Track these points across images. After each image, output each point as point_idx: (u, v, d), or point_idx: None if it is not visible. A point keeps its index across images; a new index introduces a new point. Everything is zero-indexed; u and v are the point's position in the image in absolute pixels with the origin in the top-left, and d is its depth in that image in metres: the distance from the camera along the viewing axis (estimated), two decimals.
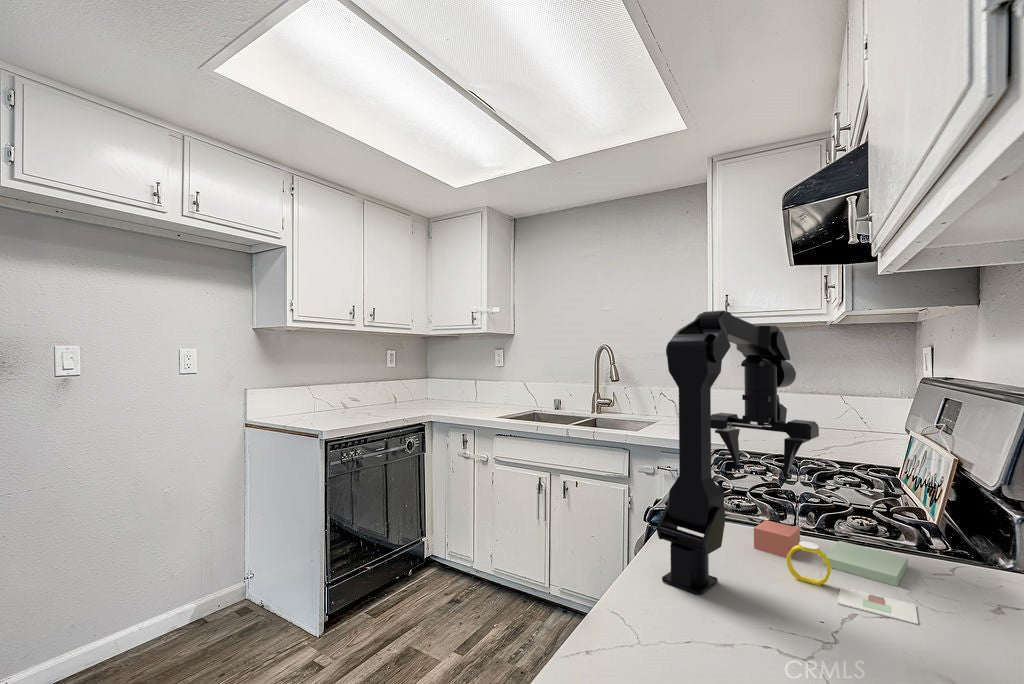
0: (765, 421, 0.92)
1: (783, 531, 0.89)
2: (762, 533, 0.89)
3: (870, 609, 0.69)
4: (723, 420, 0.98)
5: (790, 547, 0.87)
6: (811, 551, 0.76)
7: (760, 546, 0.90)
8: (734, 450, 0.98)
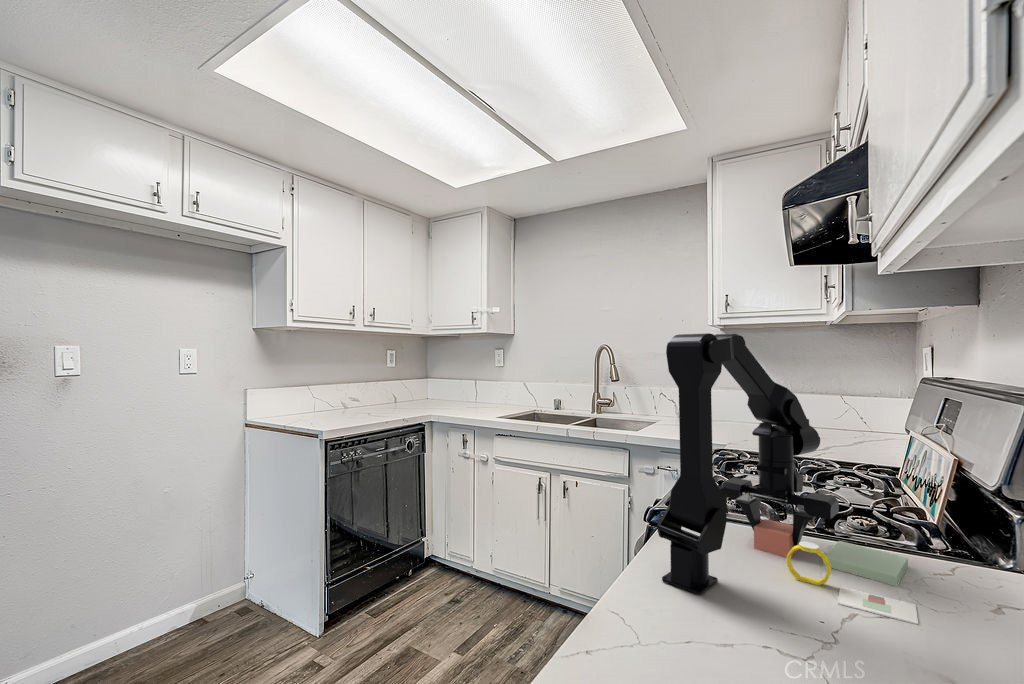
0: (781, 495, 0.87)
1: (783, 529, 0.89)
2: (762, 531, 0.89)
3: (870, 609, 0.69)
4: (736, 489, 0.93)
5: (790, 546, 0.87)
6: (811, 551, 0.76)
7: (760, 544, 0.90)
8: (756, 523, 0.92)
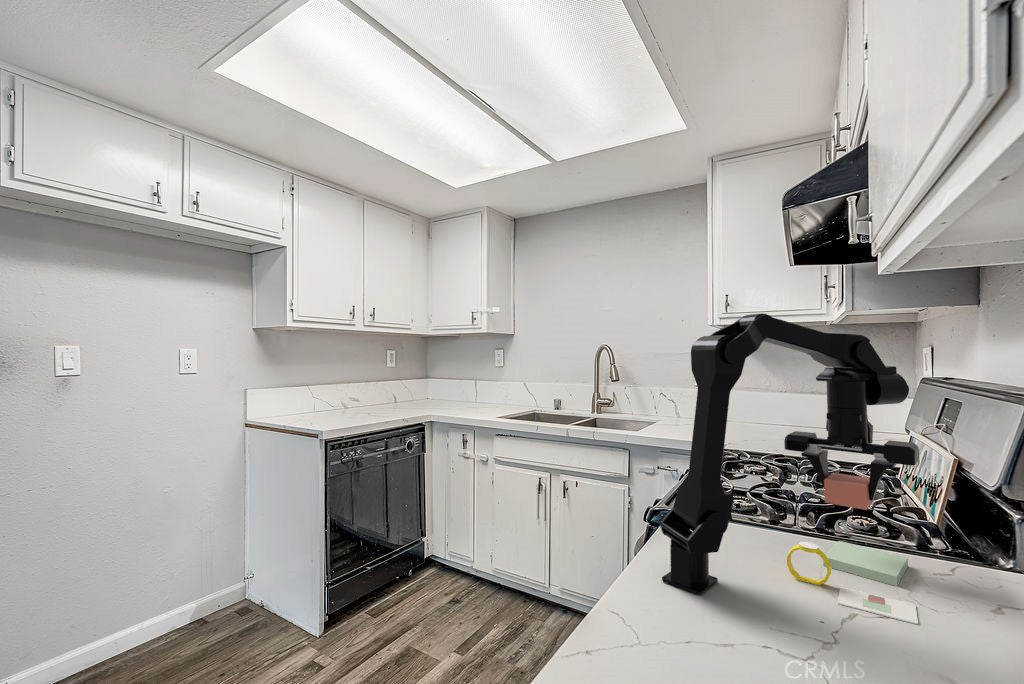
0: (856, 443, 0.81)
1: (857, 481, 0.83)
2: (834, 484, 0.84)
3: (870, 609, 0.69)
4: (803, 441, 0.87)
5: (867, 497, 0.81)
6: (811, 551, 0.76)
7: (831, 498, 0.84)
8: (825, 476, 0.86)
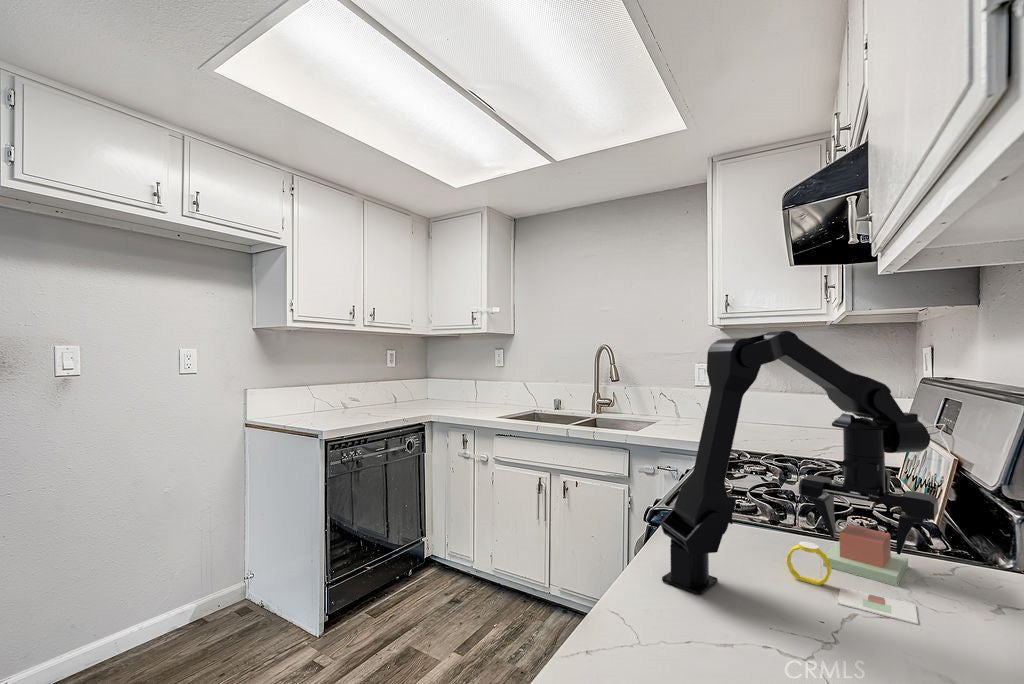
0: (873, 493, 0.80)
1: (873, 536, 0.81)
2: (850, 538, 0.82)
3: (870, 609, 0.69)
4: (818, 487, 0.85)
5: (883, 555, 0.79)
6: (811, 551, 0.76)
7: (847, 553, 0.82)
8: (831, 521, 0.86)
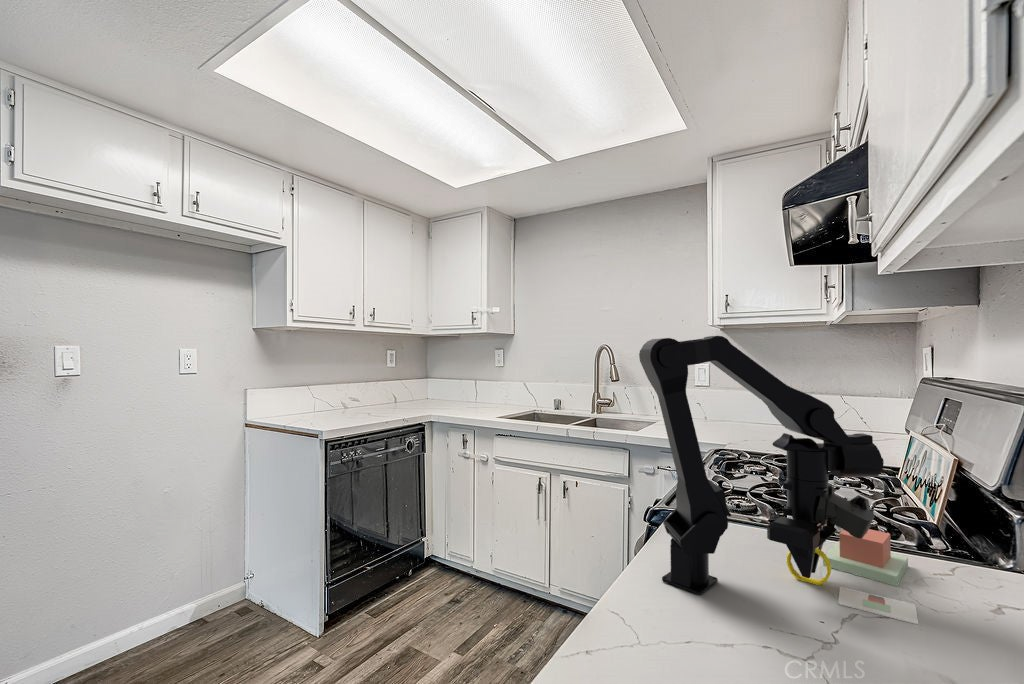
0: None
1: (873, 536, 0.81)
2: (850, 538, 0.82)
3: (870, 609, 0.69)
4: None
5: (883, 555, 0.79)
6: None
7: (847, 553, 0.82)
8: None
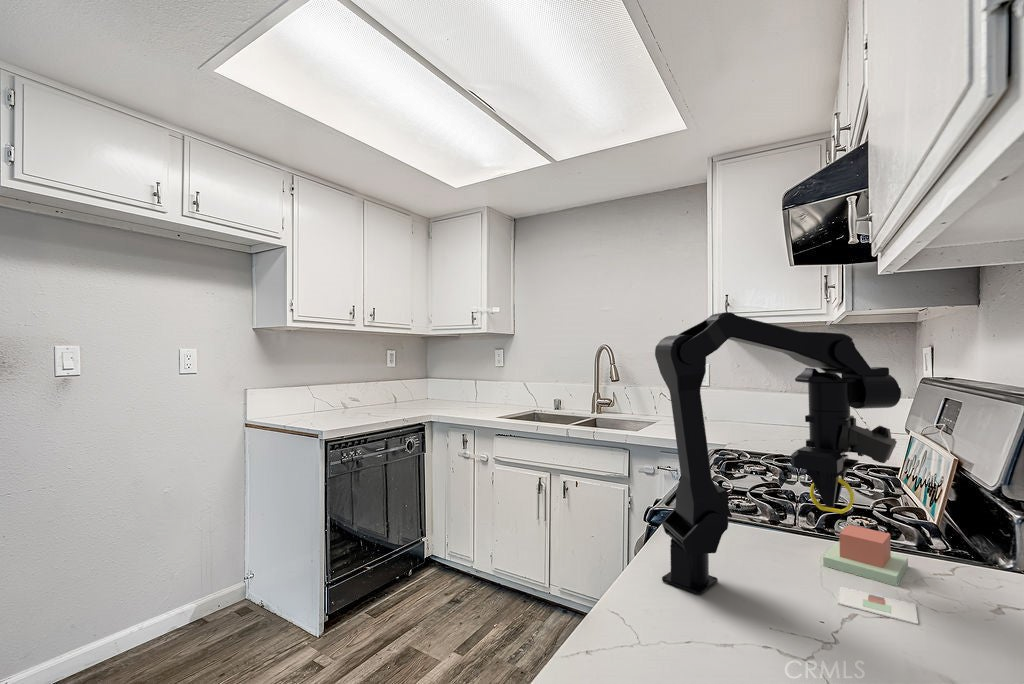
0: None
1: (873, 536, 0.81)
2: (850, 538, 0.82)
3: (870, 609, 0.69)
4: None
5: (883, 555, 0.79)
6: None
7: (847, 553, 0.82)
8: None
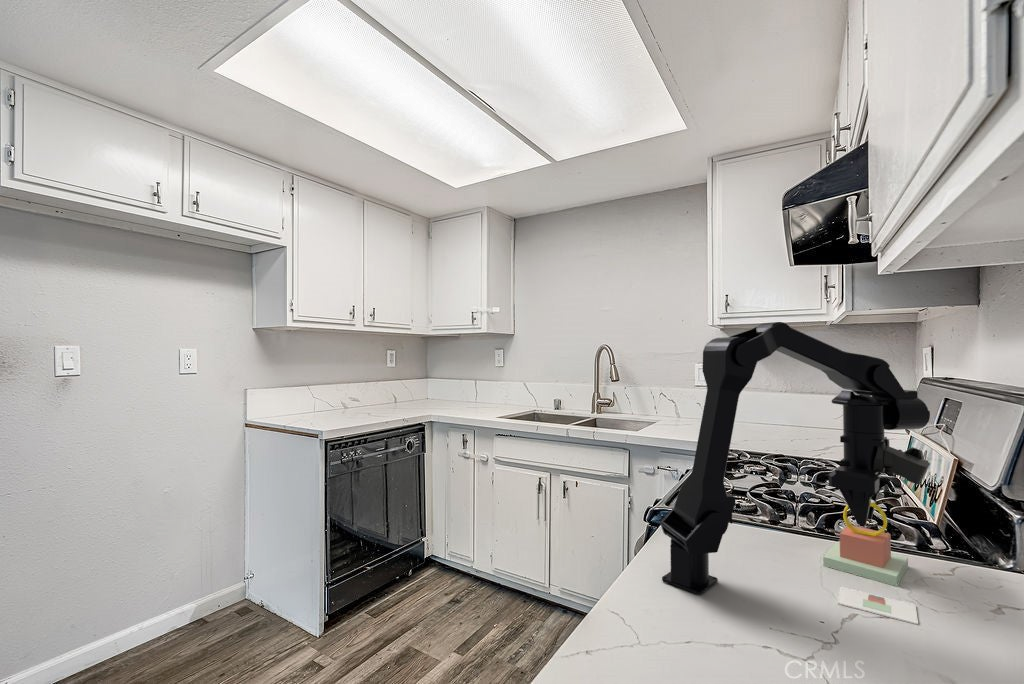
0: None
1: (874, 537, 0.81)
2: (850, 539, 0.82)
3: (870, 609, 0.69)
4: None
5: (884, 555, 0.79)
6: None
7: (847, 553, 0.82)
8: None
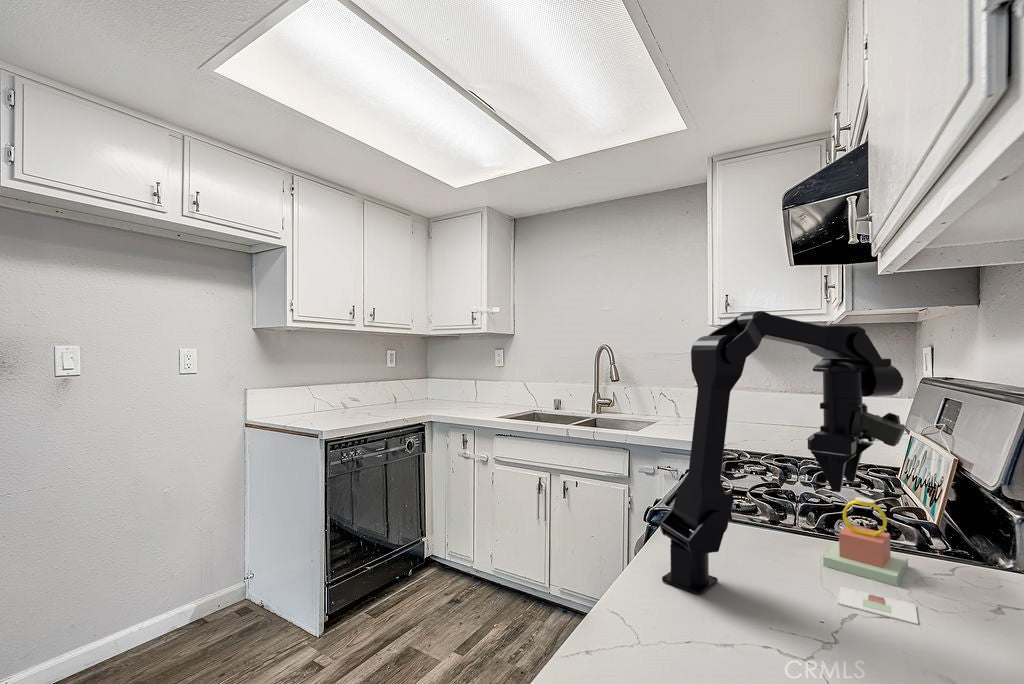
0: None
1: None
2: (850, 538, 0.82)
3: (870, 609, 0.69)
4: None
5: (883, 554, 0.79)
6: (867, 505, 0.82)
7: (846, 553, 0.82)
8: None
